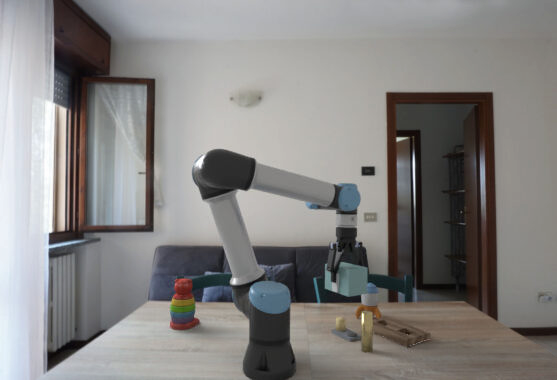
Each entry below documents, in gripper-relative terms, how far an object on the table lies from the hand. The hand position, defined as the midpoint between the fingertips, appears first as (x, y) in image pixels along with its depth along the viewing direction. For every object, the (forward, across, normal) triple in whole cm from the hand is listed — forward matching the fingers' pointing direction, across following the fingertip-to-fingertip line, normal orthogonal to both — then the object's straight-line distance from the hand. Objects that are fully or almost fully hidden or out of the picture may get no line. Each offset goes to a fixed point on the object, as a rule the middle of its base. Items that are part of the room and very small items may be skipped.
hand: (345, 290), depth 127 cm
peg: (+16, -2, -13) cm, 21 cm away
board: (+16, +17, -8) cm, 24 cm away
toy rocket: (+16, +21, +10) cm, 28 cm away
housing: (0, 0, 0) cm, 0 cm away
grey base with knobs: (+16, +1, 0) cm, 16 cm away
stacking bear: (+17, -46, +39) cm, 63 cm away
